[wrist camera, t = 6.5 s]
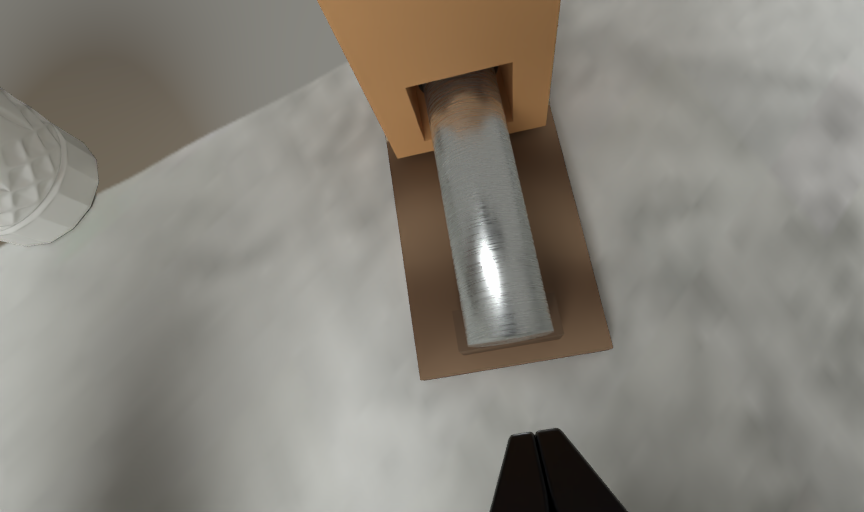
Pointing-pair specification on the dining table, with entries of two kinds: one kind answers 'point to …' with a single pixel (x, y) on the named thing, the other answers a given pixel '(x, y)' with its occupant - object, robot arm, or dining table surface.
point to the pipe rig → (492, 239)
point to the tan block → (445, 56)
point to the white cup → (40, 176)
